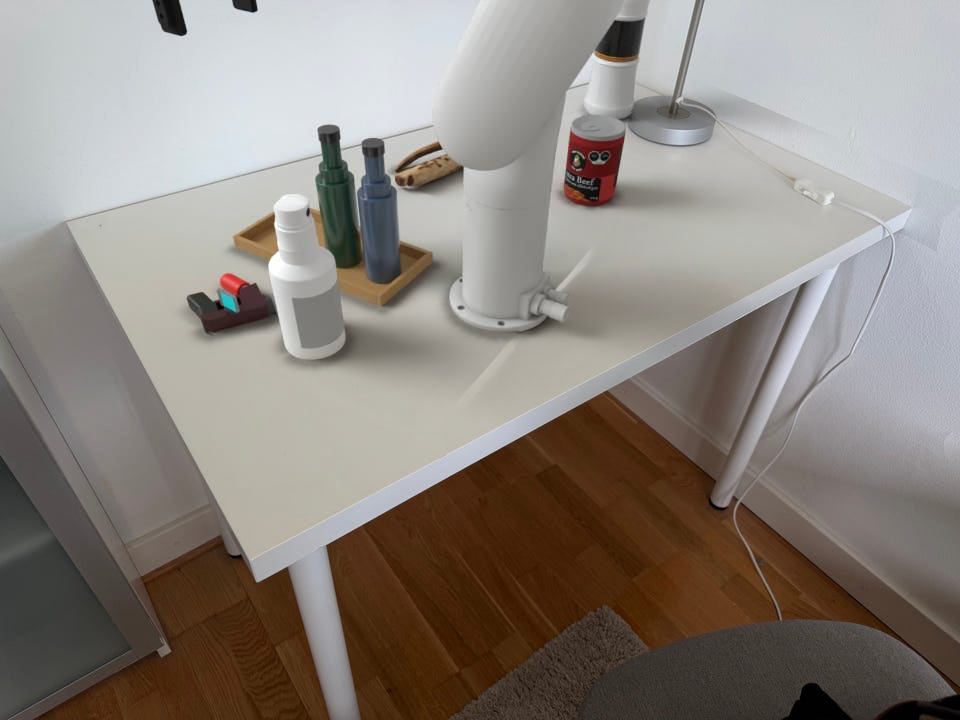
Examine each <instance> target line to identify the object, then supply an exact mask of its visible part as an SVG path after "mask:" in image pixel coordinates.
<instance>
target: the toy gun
mask: <svg viewBox="0 0 960 720" xmlns="http://www.w3.org/2000/svg"><path fill="white" fill-rule="evenodd" d="M219 284H220V287H221V288H220V287H218V288H217V289H216V292H217V296H218V299H216V300H212V299H211V298H210V297H209V296H208V295H207V294H206V293H205V292H203V291H199V292H196V293H192V294H187V296H186V301H187V304H188V307H189V309H190V310H191V311H192V312H193V313H194V314H195V315H196V316H197V317H198V318H199V319H200V322H201V325H202V327H203V330H204V333H205V334H209V335H212V336H213V335H214V334H213V333H217V332H221V331H225V330H227V329H232V328H235V327H238V326H243V325H246V324H249V323H254V322H258V321H261V320H264V319H269V318H270V316H272V315H275V316H276V315H278V312H277V307H276V302H275V298H274V293H272V294H269V297H268V296H267V297H263V294H262V292H261V290H260V289H259V286H258V284H257V282H254V283H250V282H248V281H246V280H244V279H243V278H240V277H238V276H237V275H235V274H233V273H231V272H228V273H224V274H223V275H222V276H221V277H220V279H219Z"/></svg>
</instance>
